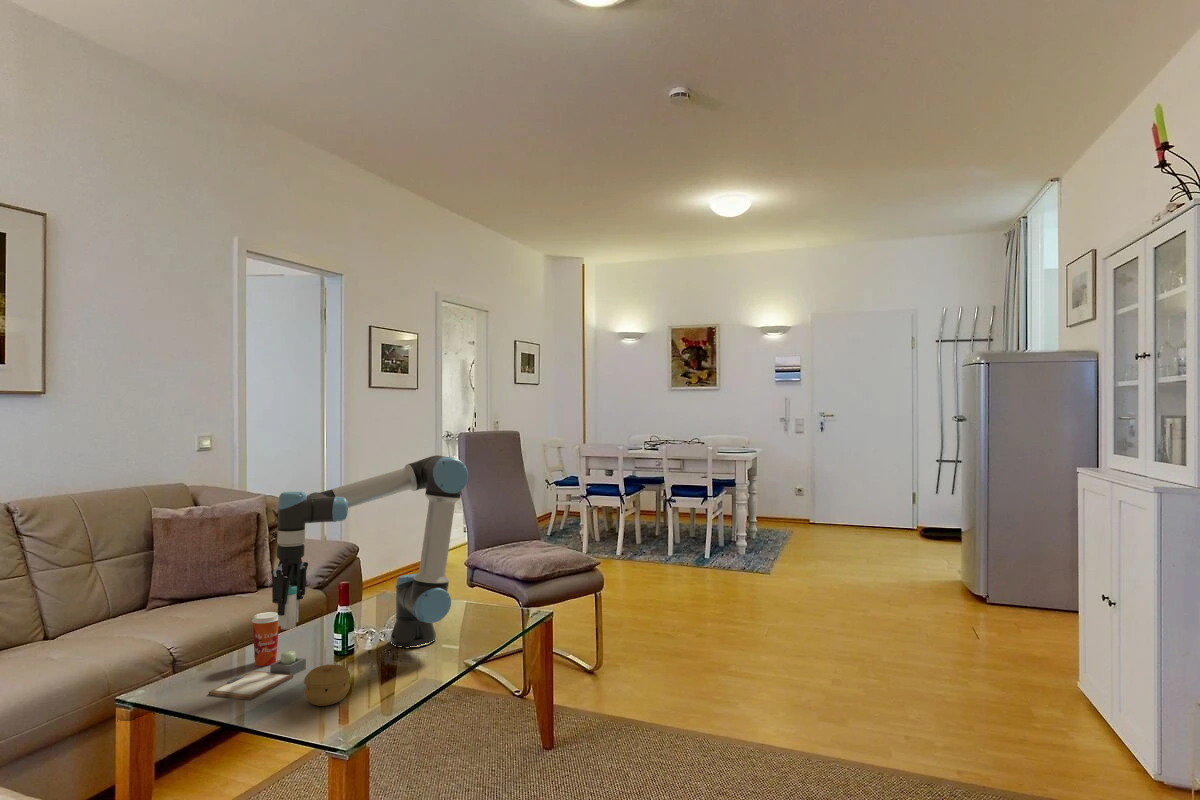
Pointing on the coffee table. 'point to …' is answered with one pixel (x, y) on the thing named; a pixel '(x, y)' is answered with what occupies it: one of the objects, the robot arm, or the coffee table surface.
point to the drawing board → (250, 685)
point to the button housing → (288, 667)
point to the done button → (288, 657)
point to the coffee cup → (265, 638)
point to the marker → (291, 607)
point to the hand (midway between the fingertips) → (288, 623)
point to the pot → (326, 685)
